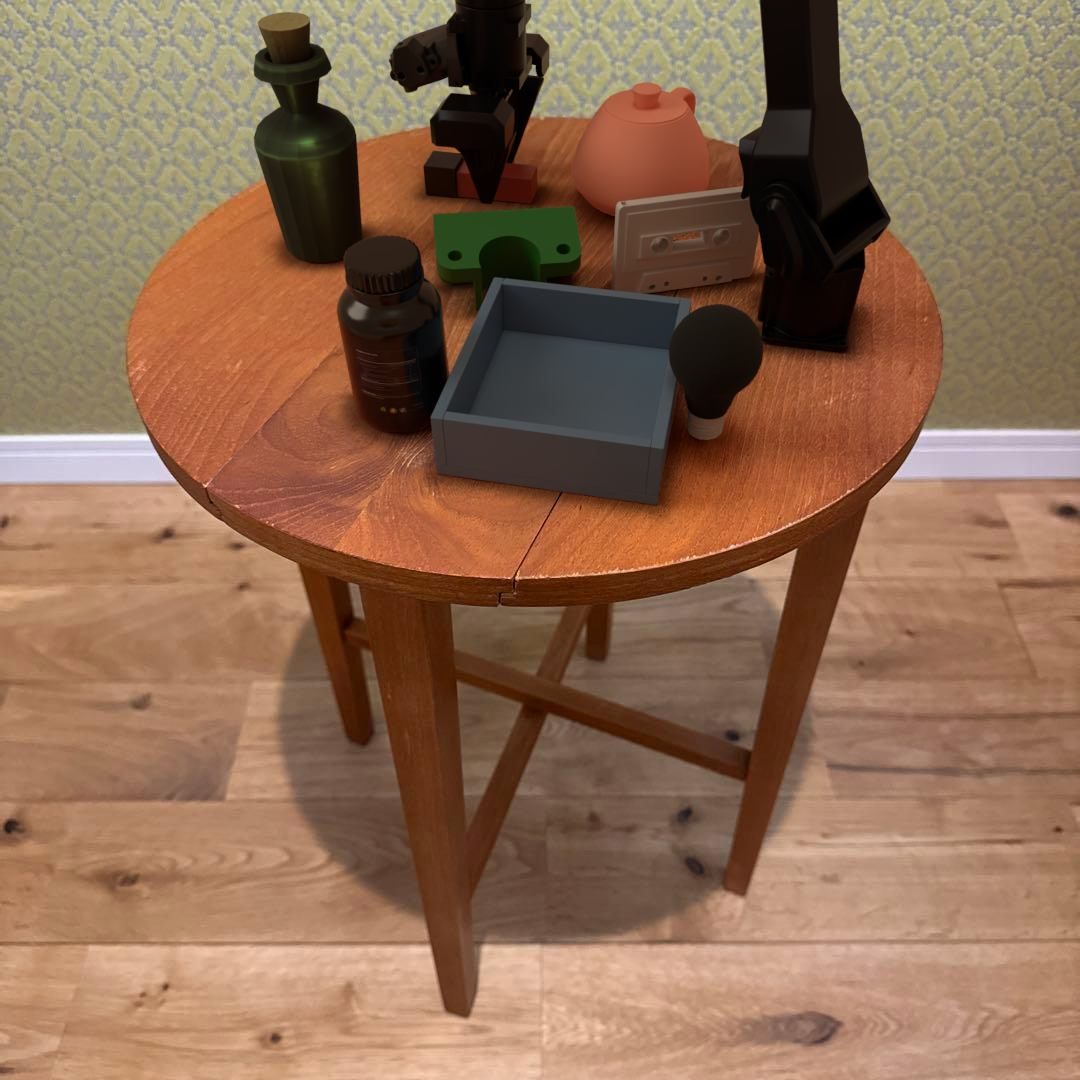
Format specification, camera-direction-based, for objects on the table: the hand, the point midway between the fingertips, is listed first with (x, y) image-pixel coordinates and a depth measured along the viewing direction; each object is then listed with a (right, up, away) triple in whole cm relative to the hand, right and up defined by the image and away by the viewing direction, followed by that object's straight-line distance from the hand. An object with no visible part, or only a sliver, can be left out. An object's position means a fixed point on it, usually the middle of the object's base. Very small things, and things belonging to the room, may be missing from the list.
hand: (497, 182), depth 89 cm
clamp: (+1, -13, -11) cm, 17 cm away
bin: (+6, -24, -21) cm, 33 cm away
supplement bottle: (-6, -24, -21) cm, 32 cm away
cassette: (+16, -12, -10) cm, 22 cm away
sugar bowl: (+14, -1, 0) cm, 14 cm away
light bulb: (+15, -26, -23) cm, 38 cm away
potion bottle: (-15, -8, -5) cm, 17 cm away
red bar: (-2, -1, +1) cm, 2 cm away
